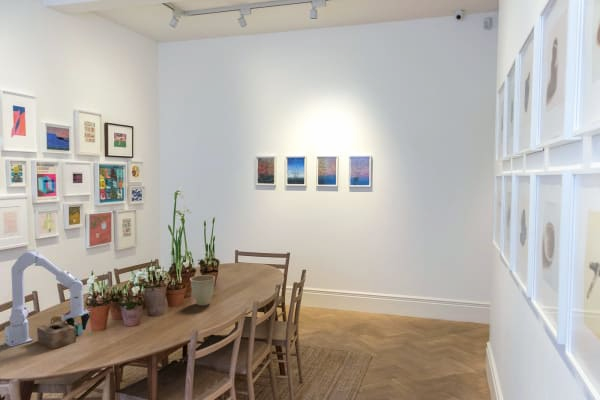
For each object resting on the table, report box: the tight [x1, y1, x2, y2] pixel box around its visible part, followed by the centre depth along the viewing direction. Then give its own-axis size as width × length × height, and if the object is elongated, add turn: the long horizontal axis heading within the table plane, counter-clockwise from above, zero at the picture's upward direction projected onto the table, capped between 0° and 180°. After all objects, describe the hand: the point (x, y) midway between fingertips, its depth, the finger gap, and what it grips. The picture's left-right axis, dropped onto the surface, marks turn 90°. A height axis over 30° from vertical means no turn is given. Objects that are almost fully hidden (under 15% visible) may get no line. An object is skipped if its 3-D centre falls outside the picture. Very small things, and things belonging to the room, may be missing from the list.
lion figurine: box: [49, 309, 77, 324], centre depth 231 cm, size 15×5×9 cm, turn 119°
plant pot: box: [189, 274, 216, 306], centre depth 268 cm, size 15×15×16 cm
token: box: [74, 322, 84, 337], centre depth 221 cm, size 2×5×5 cm, turn 50°
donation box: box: [36, 321, 77, 350], centre depth 211 cm, size 11×16×7 cm
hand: (78, 331), depth 221 cm, fingers open, 5 cm apart
